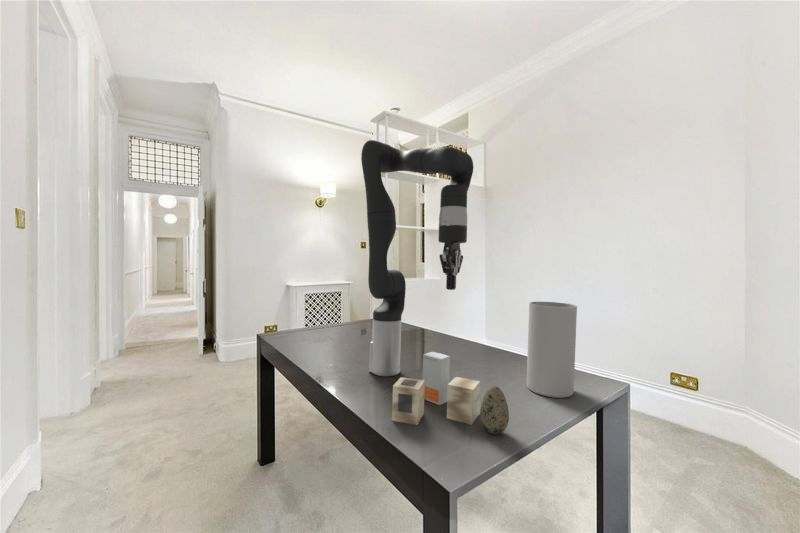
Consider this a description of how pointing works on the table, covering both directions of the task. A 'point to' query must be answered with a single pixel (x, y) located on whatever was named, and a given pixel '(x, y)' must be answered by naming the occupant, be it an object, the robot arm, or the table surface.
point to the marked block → (408, 400)
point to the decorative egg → (494, 411)
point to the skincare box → (436, 377)
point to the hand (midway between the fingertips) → (450, 289)
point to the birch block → (463, 400)
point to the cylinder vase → (551, 348)
